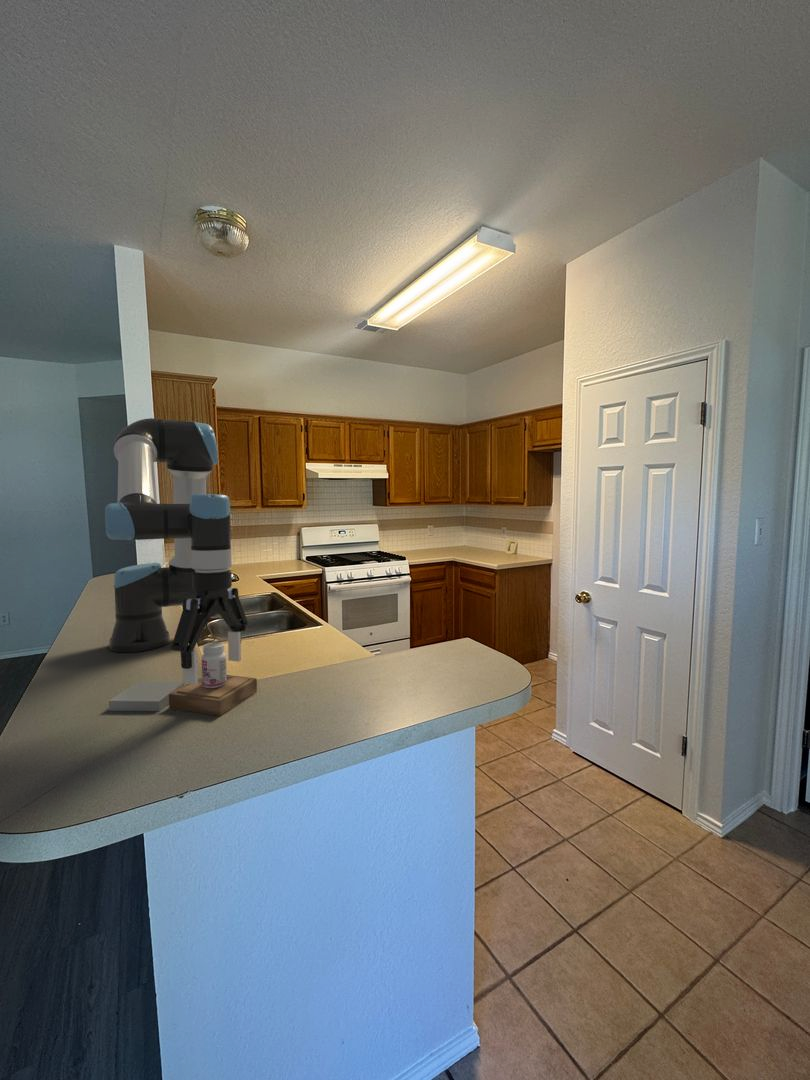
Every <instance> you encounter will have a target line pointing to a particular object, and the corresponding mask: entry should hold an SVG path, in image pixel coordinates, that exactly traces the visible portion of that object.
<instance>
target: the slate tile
mask: <svg viewBox="0 0 810 1080" xmlns="http://www.w3.org/2000/svg"><path fill="white" fill-rule="evenodd" d="M185 685H186V683H183V681H140V680H139V681H137V682H136V683H134V684H133V685H130V687H128V688H126V689H125V690H123V691H121V692H120V693H119V694H117V695H115V696H114V697H113V698H111V699H109V700H108V710H109V712H111V711H112V712H119V711H120V712H126V711H127V712H161V711H162V710H163V709H164V708H166V707H167V706H169V693H171V692H173V691H175V690H177V689H179V688H181V687H183V686H185Z"/></svg>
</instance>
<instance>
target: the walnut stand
mask: <svg viewBox="0 0 810 1080" xmlns="http://www.w3.org/2000/svg"><path fill="white" fill-rule="evenodd" d="M256 691H257V692H258V680H257V677H256V678H255V677H249V676H239V675H230V674H227V682H226V684H225V685H223V686H221V687H218V688H205V687H203V686H202V676H201V677H198V684H196V685H193V684H185V686H183V687H181V688H179V689H177V690H175V691H173V692H171V693H169V704H168V708H169V709H170V710H177V709H178V711H183V710H184V711H185V712H190V711H192V713H197V712H198V714H204V715H210V716H211V715H212V716H216V717H217V716H218V717H222V716H223V715H225V714H226V713H227V712H229V711H231V710H232V709H234V708H236V707H237V706H238V705H239V703H240V704H241V703H243V702H244V701H246V700H247V699H248V697H249V698H250V697H251V695H252V694H253V693H255V692H256ZM257 692H256V693H257ZM256 693H255V694H256ZM253 695H254V694H253ZM253 695H252V696H253ZM245 699H246V700H245ZM242 701H243V702H242Z"/></svg>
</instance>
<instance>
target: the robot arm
mask: <svg viewBox="0 0 810 1080" xmlns="http://www.w3.org/2000/svg"><path fill="white" fill-rule="evenodd" d="M113 443H114V444H113V454H114V457H115V459H116V460H117V462H118V463H117V464H118V465H117V467H118V468H117V502H116V503H115V502H114V503H112V502H111V503H108V504H106V506H105V507H104V508H105V511H104V513H105V514H104V519H105V520H104V521H105V534H106V536H107V538H109V540H119V541H120V540H121V541H122V540H123V541H126V540H127V541H139V540H140V541H142V540H144V541H145V540H164V539H166V540H167V539H168V540H169V539H170V540H171V539H173V541H174V555H173V557H172V558H170V560H169V561H168V566H167V567H162V565H161V563H160V562H151V563H150V562H148V563H147V562H146V563H141V564H136V565H131V566H126V567H123V568H119V569H118V570H117V571H116V572H115V573H114V579H113V581H114V583H113V584H114V585H113V589H114V607H115V608H114V609H115V623H114V626H113V629H112V633H111V637H110V638H109V642H108V644H109V645H108V647H109V650H110V651H111V652H116V653H136V652H137V653H138V652H139V653H140V652H144V651H150V650H154V649H158V648H161V647H164V646H166V645H167V644H169V643H170V641H171V640H170V632H169V631H168V630H167V626H166V622H165V620H164V618H163V608H168V607H178V606H182V612H181V615H180V619H179V621H178V625H177V628H176V631H175V634H174V637H173V641H172V644H171V647H170V648H171V651H175V652H180V666H181V669H182V677H183V679H182V680H183V681H182V682H183V683H185V685H187V684H193V685H196V684H198V679H199V676H198V675H199V673H198V672H199V671H198V650H197V649H195V647H196V645H197V643H198V640H199V638H200V637H201V635H202V633H203V630H204V628H205V627H206V623H208V621H210V620H211V618H212V617H214V616H216V615H220V617H221V618H222V619H223V621H224V622H225V624H226V625H227V626H228V628H229V629H230V630H228V631H227V648H228V649H227V650H228V651H227V652H228V661H232V662H241V661H242V632H245V631H246V630H247V626H248V618H247V616H246V614H245V611H244V608H243V606H242V603H241V600H240V597H239V589H238V588H237V587H232V586H233V583H232V582H233V580H232V578H233V577H232V571H231V570H230V568H231V567H232V565H233V564H232V548H231V547H232V546H231V514H232V509H231V504H230V502H231V501H230V497H229V496H228V495H226V494H215V493H214V494H213V493H211V494H210V493H207V477H208V476H209V474H211V473H212V471H213V466H216V465H218V462H219V454H218V453H219V452H218V446H217V445H218V444H217V439H216V436H215V432H214V429H213V428H212V426H211V425H210V424H208V423H202V422H197V421H189V420H188V421H186V420H173V419H165V418H164V419H162V418H161V419H160V418H156V417H153V418H152V417H149V418H143V419H139V420H136V421H134V422H132V423H130V424H128V425H127V426H125V427H124V428H123V429H122V430H121V431H120V432H119V433H118V434H117V436H116V437H115V440H114V442H113ZM155 463H166V469H167V471H168V472H170V473H171V475H172V479H173V481H172V482H173V503H158V499H157V497H158V496H157V487H156V475H155Z"/></svg>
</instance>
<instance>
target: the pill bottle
mask: <svg viewBox="0 0 810 1080" xmlns="http://www.w3.org/2000/svg"><path fill="white" fill-rule="evenodd" d="M202 652H203V654H202V655H201V677H202V686H203V687H205V688H218V687H221V686H223V685H225V684H226V682H227V675H228V674H227V654H226V652H225V643H223V642H219V641H215V642H214V641H213V642H208V643H205V644H203V646H202Z"/></svg>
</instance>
